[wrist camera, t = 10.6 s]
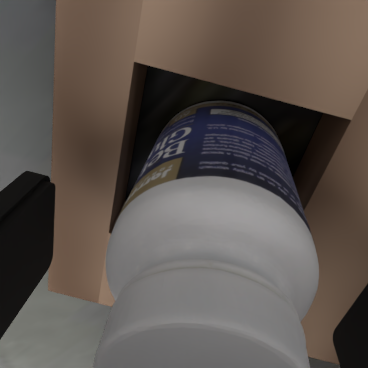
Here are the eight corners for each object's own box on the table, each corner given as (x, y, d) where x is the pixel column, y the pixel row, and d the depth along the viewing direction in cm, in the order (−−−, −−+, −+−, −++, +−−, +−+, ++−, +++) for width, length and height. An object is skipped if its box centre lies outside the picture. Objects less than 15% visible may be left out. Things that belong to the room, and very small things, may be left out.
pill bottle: (181, 74, 13) (87, 234, 4) (306, 128, 13) (444, 366, 5) (140, 185, 15) (34, 415, 7) (245, 226, 16) (264, 488, 7)
